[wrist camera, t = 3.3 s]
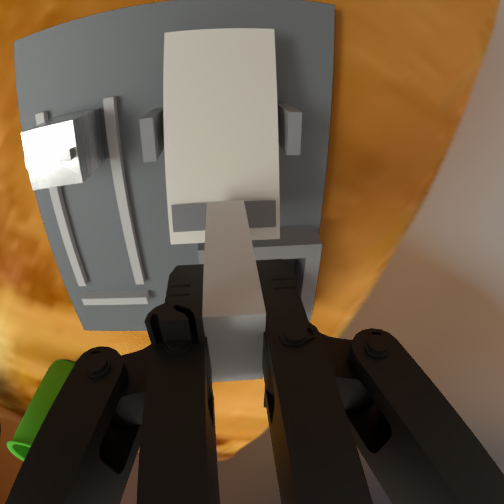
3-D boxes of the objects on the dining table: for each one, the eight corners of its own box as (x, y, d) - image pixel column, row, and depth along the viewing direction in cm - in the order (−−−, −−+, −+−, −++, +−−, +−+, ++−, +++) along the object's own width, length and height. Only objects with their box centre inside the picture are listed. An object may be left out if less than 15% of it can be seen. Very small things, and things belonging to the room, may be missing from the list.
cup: (62, 335, 24) (29, 440, 15) (129, 385, 29) (118, 482, 20) (22, 360, 26) (-6, 444, 17) (82, 402, 31) (67, 482, 22)
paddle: (168, 41, 13) (164, 31, 11) (270, 37, 13) (274, 27, 12) (173, 238, 15) (170, 245, 14) (275, 232, 16) (280, 239, 15)
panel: (22, 41, 12) (-19, 43, 8) (328, 7, 13) (359, -6, 10) (87, 321, 24) (74, 361, 20) (303, 312, 25) (316, 353, 22)
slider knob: (52, 118, 14) (16, 135, 11) (98, 108, 14) (68, 121, 11) (60, 167, 16) (29, 193, 12) (105, 160, 16) (79, 186, 13)
